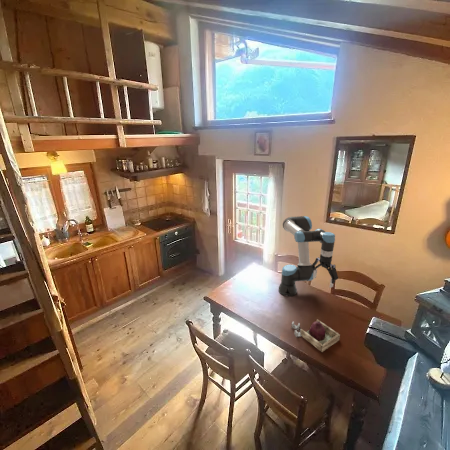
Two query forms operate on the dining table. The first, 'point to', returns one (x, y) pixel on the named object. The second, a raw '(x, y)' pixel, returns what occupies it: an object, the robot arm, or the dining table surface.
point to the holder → (328, 341)
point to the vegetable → (317, 331)
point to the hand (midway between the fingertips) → (322, 282)
